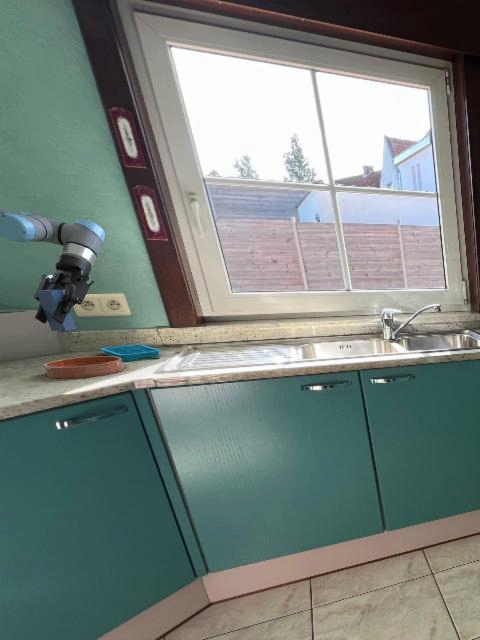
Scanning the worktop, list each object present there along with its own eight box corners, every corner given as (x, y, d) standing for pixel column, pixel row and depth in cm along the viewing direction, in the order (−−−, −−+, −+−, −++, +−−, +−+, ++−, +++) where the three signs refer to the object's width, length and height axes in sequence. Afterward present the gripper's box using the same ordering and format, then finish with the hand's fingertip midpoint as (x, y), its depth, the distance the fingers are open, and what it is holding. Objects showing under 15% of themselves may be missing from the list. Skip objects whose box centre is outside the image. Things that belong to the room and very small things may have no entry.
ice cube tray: (142, 352, 187) (139, 344, 186) (165, 358, 177) (162, 350, 176) (101, 356, 178) (98, 348, 176) (123, 364, 168) (120, 355, 167)
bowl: (41, 383, 143) (36, 369, 142) (56, 371, 156) (51, 359, 155) (120, 376, 152) (116, 363, 151) (129, 366, 165) (125, 354, 164)
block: (51, 330, 153) (35, 290, 148) (62, 329, 156) (48, 289, 152) (65, 331, 153) (50, 291, 149) (76, 329, 157) (62, 290, 152)
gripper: (114, 271, 164) (90, 328, 155) (56, 269, 162) (29, 327, 152) (95, 254, 157) (69, 313, 148) (35, 252, 155) (4, 312, 146)
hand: (49, 320), depth 150 cm, fingers closed on block, 4 cm apart
